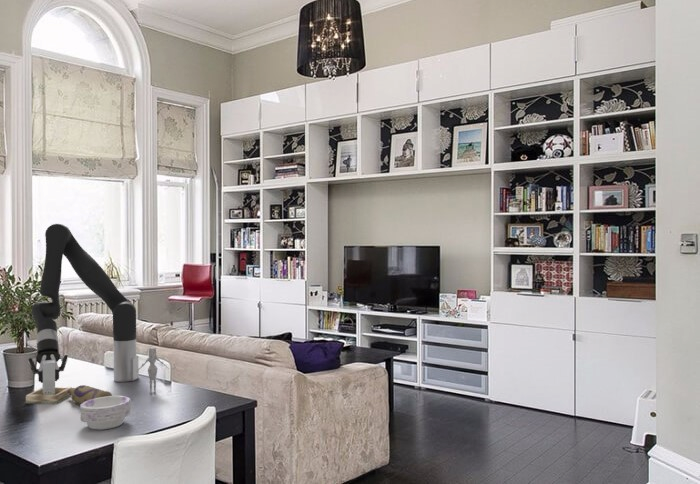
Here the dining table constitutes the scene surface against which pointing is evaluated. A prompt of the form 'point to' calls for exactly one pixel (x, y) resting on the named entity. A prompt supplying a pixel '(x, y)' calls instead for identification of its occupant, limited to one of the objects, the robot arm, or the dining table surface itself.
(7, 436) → the dining table surface
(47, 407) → the dining table surface
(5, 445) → the dining table surface
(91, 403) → the paper bowls
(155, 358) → the human figurine
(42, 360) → the robot arm
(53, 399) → the pocket tray
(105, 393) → the decorative bottle
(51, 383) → the skincare box
